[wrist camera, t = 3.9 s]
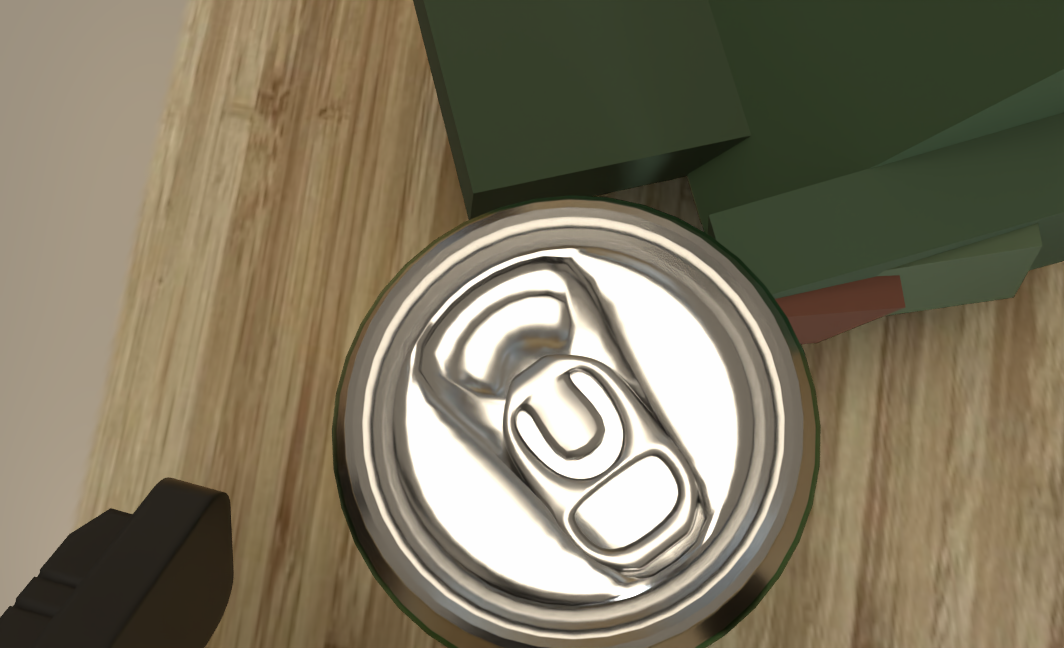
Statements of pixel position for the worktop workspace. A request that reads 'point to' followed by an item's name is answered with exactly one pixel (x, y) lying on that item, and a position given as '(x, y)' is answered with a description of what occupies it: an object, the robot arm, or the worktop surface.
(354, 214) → the worktop surface
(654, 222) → the soda can
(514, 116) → the green angular faceted piece
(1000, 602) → the worktop surface
